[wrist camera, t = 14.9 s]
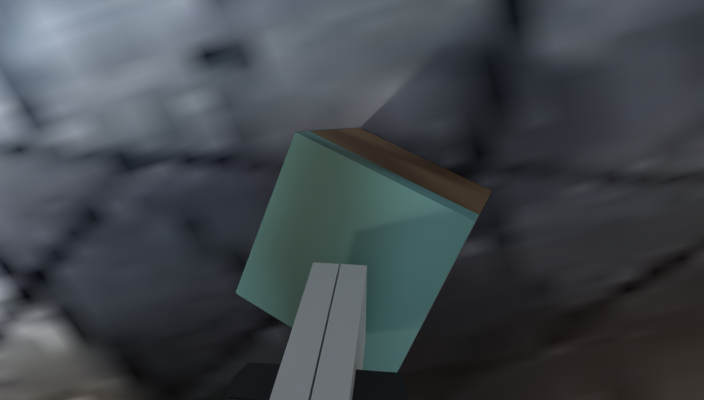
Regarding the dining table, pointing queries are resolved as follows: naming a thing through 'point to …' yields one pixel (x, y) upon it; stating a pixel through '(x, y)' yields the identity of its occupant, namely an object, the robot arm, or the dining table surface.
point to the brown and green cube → (362, 232)
